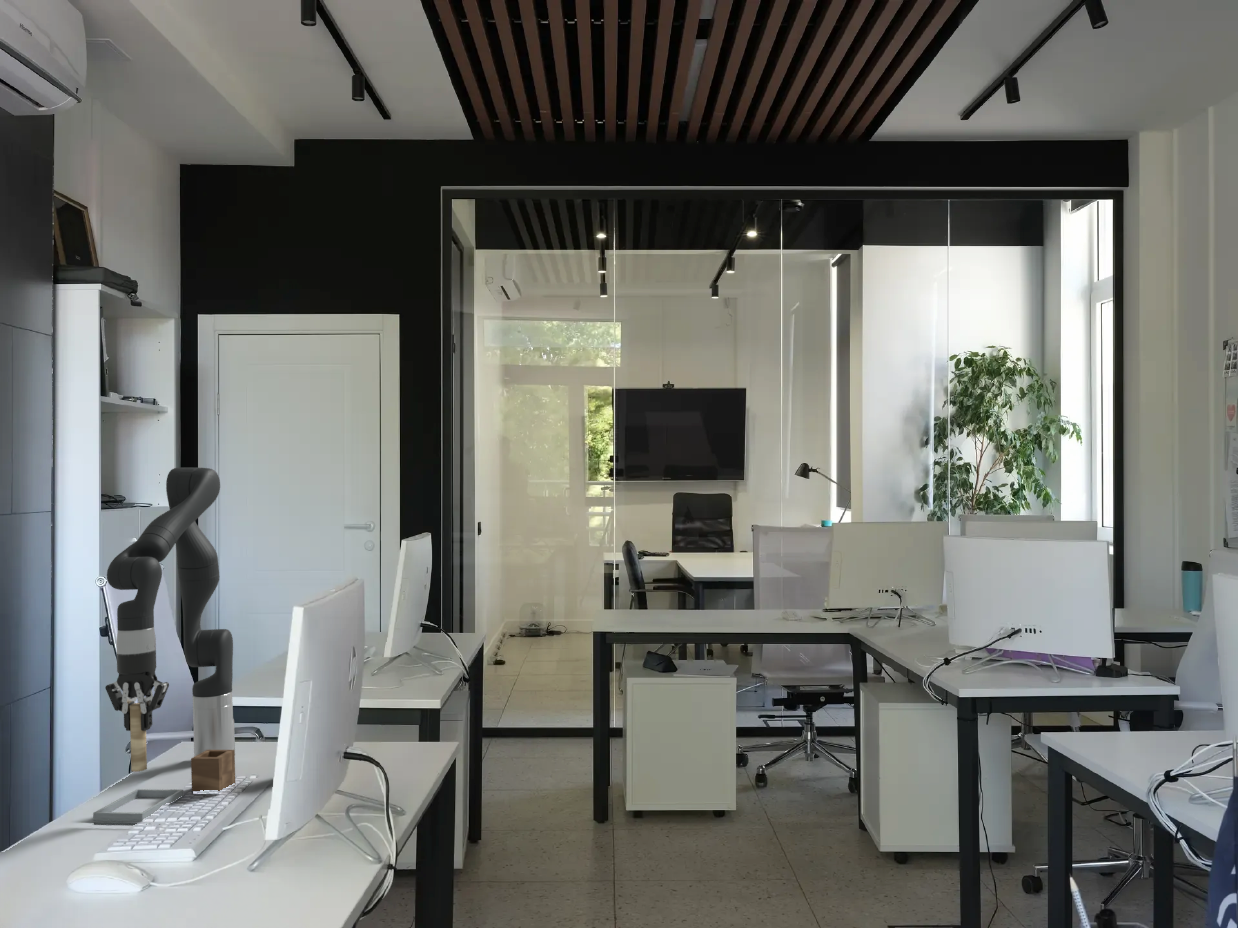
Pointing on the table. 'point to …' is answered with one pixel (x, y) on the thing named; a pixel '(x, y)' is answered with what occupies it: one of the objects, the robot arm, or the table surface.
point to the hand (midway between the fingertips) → (138, 729)
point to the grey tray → (108, 815)
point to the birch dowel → (137, 740)
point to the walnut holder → (213, 770)
